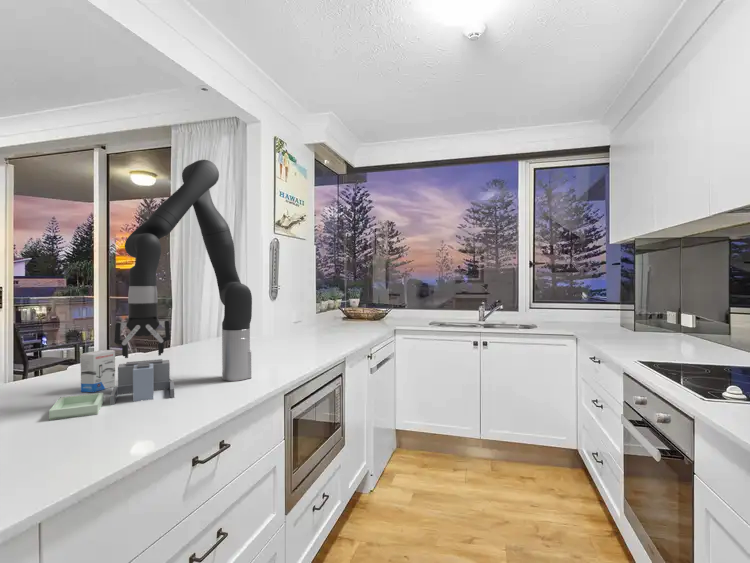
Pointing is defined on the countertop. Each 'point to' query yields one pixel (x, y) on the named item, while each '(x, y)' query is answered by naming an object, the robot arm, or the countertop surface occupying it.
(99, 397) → the tray
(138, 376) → the box with raised panel
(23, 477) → the countertop surface
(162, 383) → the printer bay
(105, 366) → the ink box
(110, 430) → the countertop surface
